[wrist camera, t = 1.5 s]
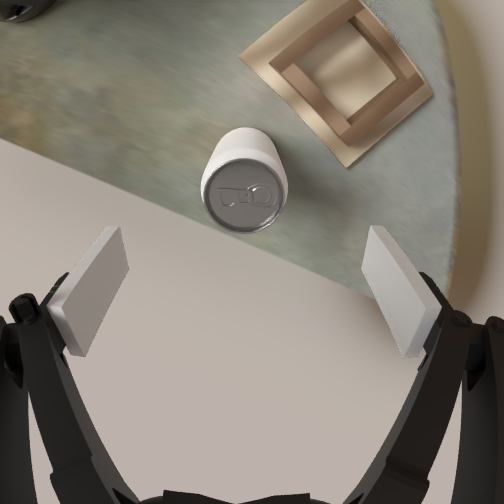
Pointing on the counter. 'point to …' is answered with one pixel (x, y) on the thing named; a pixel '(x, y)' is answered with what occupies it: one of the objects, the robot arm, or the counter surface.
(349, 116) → the keeper board
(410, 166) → the counter surface
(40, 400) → the robot arm
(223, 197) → the can
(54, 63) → the counter surface
